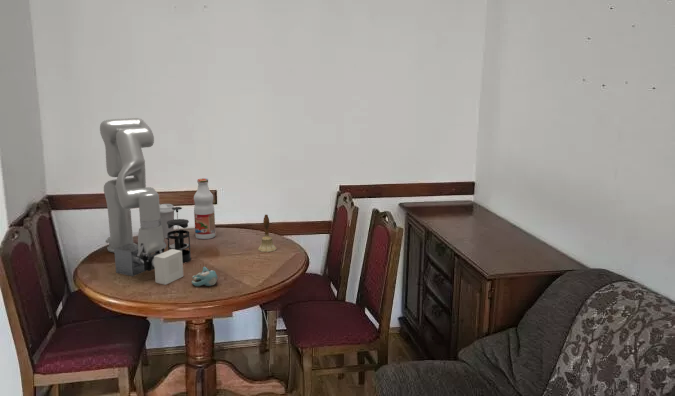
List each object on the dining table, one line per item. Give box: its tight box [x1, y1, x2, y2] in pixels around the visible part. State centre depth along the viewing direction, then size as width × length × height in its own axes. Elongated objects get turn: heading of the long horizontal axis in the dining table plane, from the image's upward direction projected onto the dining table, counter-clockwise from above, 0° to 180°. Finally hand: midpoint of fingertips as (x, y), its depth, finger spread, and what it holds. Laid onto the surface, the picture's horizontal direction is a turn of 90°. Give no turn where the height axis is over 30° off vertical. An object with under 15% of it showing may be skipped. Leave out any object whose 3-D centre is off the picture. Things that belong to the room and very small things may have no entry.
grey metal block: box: [114, 243, 147, 277], centre depth 242 cm, size 9×8×10 cm
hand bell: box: [257, 214, 277, 253], centre depth 270 cm, size 8×8×16 cm
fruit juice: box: [193, 177, 216, 240], centre depth 288 cm, size 9×9×28 cm
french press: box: [167, 206, 192, 264], centre depth 255 cm, size 12×9×23 cm
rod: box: [133, 252, 158, 271], centre depth 238 cm, size 19×5×5 cm, turn 64°
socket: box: [154, 249, 184, 286], centre depth 234 cm, size 5×10×10 cm, turn 154°
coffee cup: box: [159, 203, 176, 239], centre depth 289 cm, size 10×10×15 cm
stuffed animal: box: [191, 266, 219, 287], centre depth 231 cm, size 11×7×12 cm
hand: (153, 267), depth 238 cm, fingers closed on rod, 5 cm apart
